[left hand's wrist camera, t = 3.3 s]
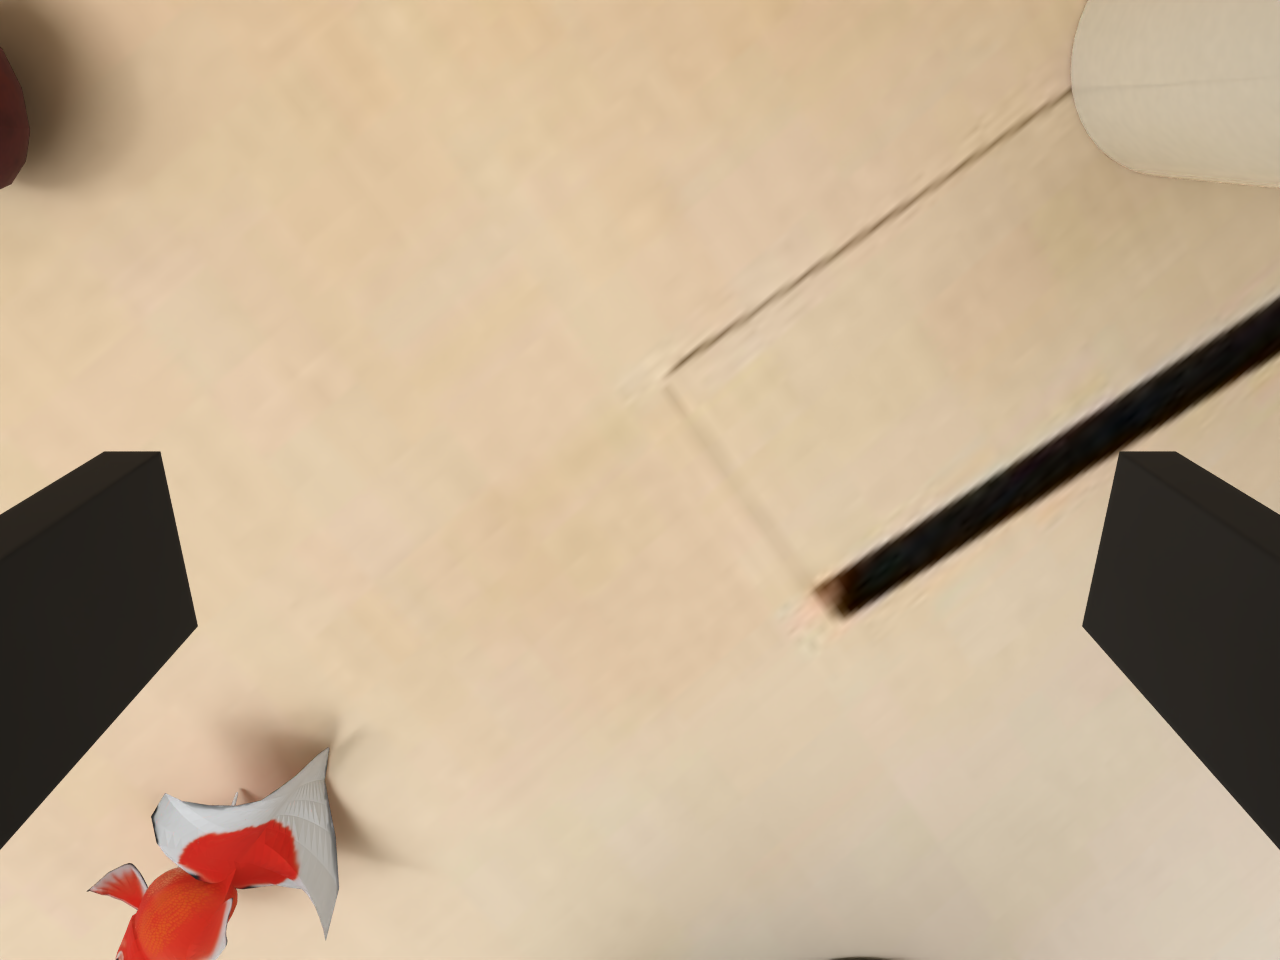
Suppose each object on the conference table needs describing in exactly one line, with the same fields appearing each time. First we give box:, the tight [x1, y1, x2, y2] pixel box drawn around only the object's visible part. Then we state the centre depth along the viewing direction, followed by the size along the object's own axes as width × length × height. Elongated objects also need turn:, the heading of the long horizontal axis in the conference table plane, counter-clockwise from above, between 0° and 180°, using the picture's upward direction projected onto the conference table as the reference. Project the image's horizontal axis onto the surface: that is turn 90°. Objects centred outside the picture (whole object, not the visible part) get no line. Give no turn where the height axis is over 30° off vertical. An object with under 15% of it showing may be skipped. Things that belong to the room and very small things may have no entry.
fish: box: [88, 747, 339, 960], centre depth 46 cm, size 11×16×10 cm
